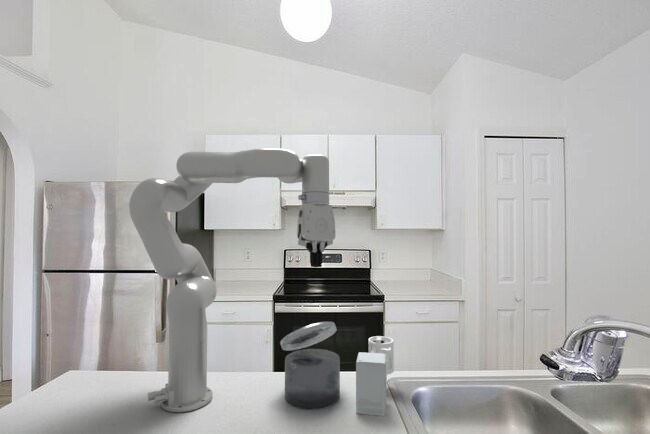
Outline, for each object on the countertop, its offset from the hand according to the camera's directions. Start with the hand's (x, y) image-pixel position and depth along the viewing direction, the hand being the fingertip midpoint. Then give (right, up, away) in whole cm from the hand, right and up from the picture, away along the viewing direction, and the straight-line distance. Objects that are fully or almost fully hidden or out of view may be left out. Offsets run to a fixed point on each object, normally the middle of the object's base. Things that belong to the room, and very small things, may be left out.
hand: (316, 266), depth 93 cm
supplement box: (+14, -35, -7) cm, 38 cm away
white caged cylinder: (+18, -36, +3) cm, 40 cm away
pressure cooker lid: (-2, -20, +2) cm, 21 cm away
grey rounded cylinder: (-1, -35, 0) cm, 35 cm away
